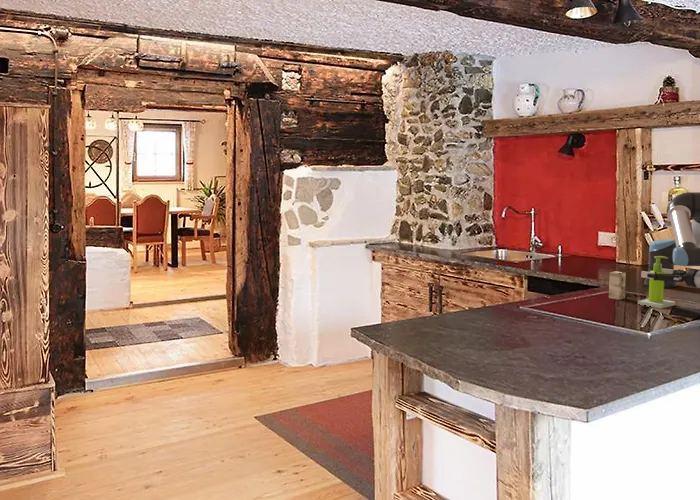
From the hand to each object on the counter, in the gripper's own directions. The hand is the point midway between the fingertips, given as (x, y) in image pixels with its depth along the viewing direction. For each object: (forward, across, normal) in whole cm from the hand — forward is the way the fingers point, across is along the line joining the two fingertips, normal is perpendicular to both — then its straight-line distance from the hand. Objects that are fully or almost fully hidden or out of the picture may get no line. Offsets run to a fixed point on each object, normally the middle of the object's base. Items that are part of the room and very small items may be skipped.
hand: (650, 272), depth 294 cm
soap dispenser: (-3, 0, -12) cm, 13 cm away
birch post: (+16, 0, -14) cm, 21 cm away
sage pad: (-3, 0, -14) cm, 14 cm away
